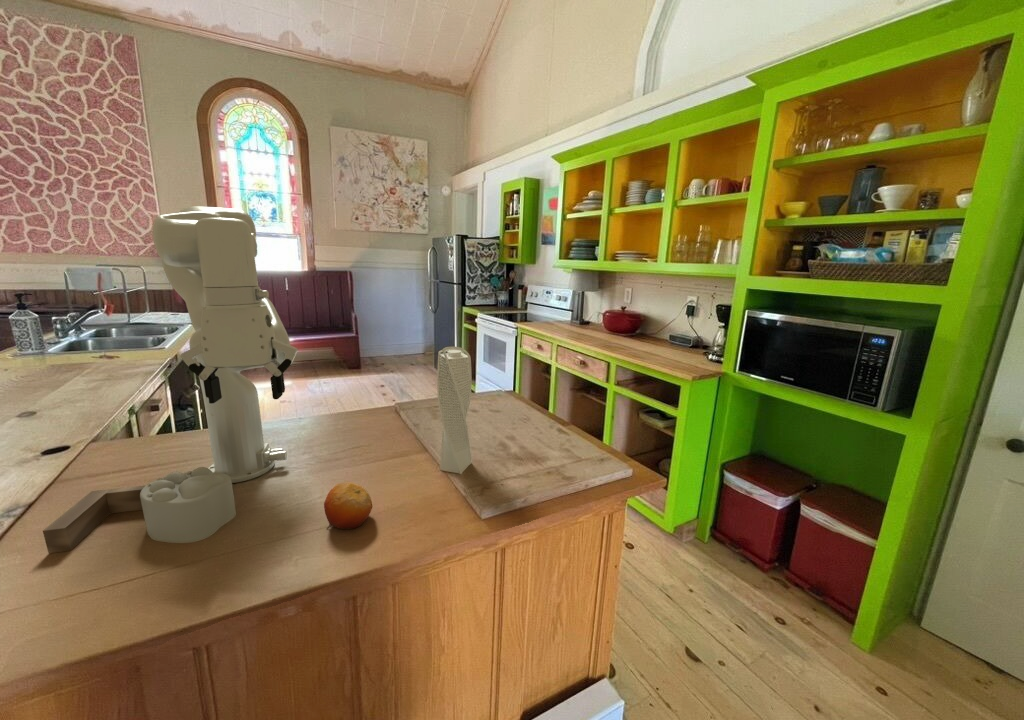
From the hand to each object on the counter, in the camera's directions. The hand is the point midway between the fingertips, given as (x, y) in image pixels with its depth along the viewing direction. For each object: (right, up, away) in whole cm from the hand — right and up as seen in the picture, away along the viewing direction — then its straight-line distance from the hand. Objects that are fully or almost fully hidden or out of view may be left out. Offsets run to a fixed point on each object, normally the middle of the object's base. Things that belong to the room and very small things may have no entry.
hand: (247, 399), depth 75 cm
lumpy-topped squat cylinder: (-11, -22, +2) cm, 25 cm away
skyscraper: (+33, -17, +23) cm, 43 cm away
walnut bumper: (-22, -22, +1) cm, 31 cm away
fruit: (+17, -22, +2) cm, 28 cm away
